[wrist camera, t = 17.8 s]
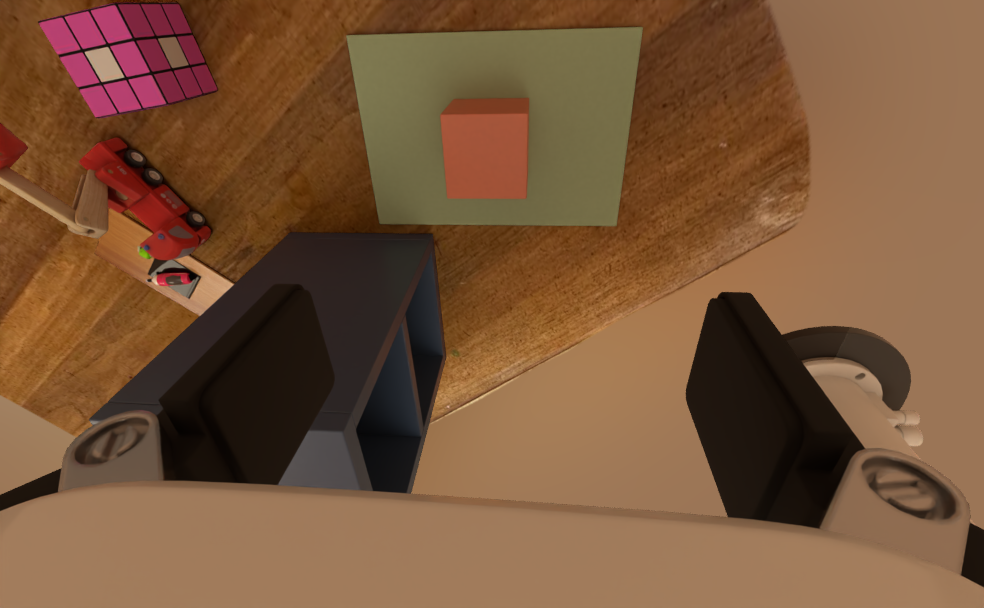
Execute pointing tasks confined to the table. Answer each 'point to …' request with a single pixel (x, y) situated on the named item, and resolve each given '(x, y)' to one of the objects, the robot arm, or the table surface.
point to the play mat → (499, 74)
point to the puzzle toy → (130, 56)
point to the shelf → (338, 353)
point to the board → (160, 266)
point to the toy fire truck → (113, 197)
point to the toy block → (486, 148)
